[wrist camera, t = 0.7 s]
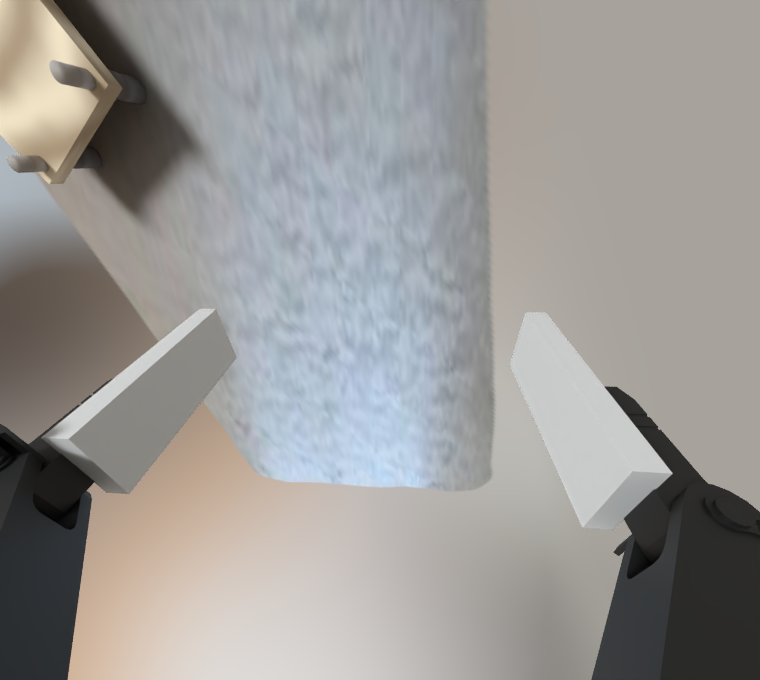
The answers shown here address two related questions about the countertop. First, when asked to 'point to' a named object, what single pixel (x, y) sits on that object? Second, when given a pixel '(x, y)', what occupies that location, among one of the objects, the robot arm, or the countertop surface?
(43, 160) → the plant stand
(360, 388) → the countertop surface
